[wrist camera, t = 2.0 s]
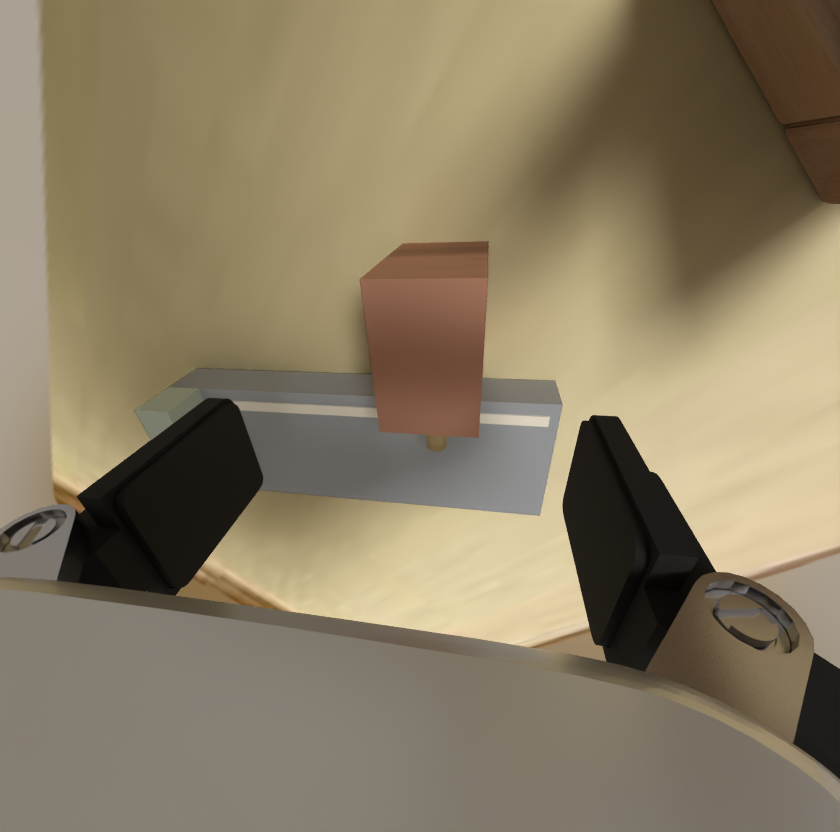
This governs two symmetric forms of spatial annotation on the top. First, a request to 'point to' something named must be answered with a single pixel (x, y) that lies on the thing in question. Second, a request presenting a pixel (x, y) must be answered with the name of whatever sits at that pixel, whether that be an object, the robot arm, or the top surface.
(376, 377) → the brown block
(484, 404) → the grey board
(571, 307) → the top surface
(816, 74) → the brown forked upright piece
